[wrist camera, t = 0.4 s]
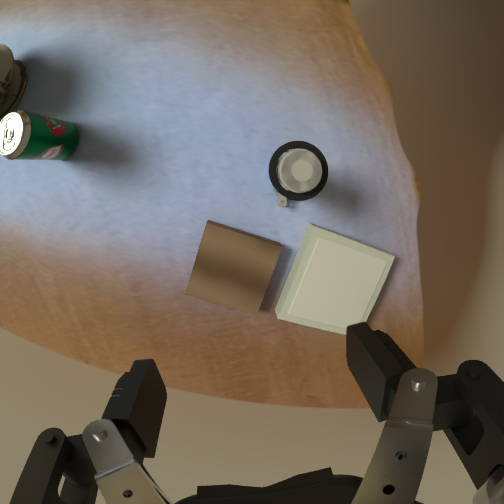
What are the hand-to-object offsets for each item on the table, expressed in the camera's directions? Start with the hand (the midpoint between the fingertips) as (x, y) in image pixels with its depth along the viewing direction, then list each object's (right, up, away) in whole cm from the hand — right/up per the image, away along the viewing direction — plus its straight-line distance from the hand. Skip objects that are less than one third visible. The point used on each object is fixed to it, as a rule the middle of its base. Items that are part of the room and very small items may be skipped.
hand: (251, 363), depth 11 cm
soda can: (-24, +19, +19) cm, 36 cm away
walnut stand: (-2, +3, +25) cm, 25 cm away
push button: (+3, +13, +23) cm, 27 cm away
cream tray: (+11, +1, +26) cm, 28 cm away
